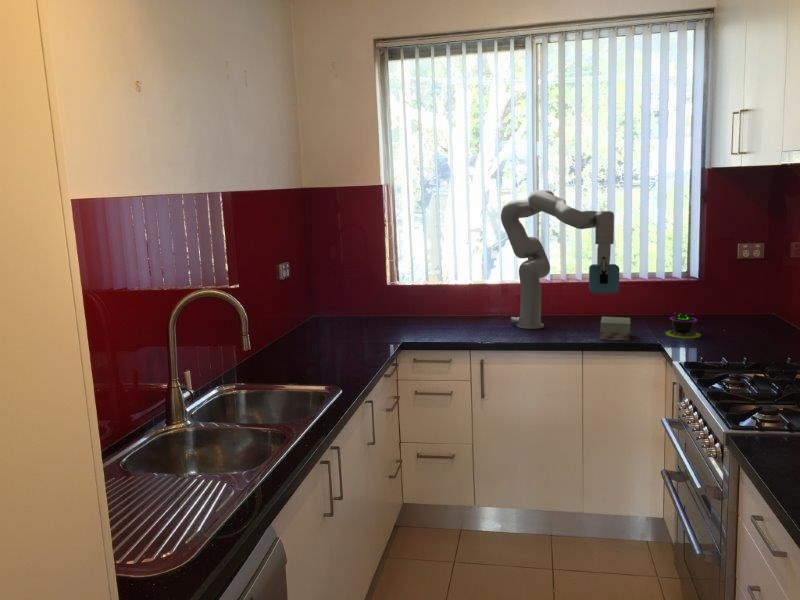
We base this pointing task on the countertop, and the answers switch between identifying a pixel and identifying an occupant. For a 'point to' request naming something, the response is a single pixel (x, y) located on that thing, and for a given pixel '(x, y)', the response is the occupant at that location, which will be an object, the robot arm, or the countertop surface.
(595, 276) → the data package
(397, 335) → the countertop surface
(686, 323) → the toy cauldron
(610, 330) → the pale grey flat block
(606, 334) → the tower bottom
